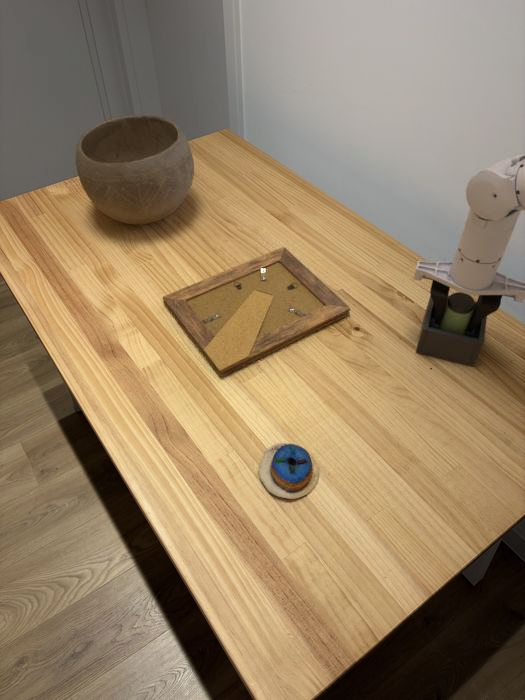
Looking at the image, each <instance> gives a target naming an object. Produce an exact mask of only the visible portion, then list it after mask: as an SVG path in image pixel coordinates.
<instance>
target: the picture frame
mask: <svg viewBox="0 0 525 700" xmlns="http://www.w3.org/2000/svg"><path fill="white" fill-rule="evenodd" d="M162 300H163V301H162V302H163V305H164V306H165V307H166V308H167V310H168V311H169V312H170V314H171V315H172V316H173V318H174V319H175V320H176V321H177V322H178V324H179V325H180V327H181V328H182V329H183V331H184V332H185V333H186V334H187V336H188V337H189V339H190V340H191V341H192V342H193V343H194V345H195V346H196V348H197V349H198V350H199V351H200V353H201V354H202V356H203V357H204V358H205V359H206V360H207V362H208V363H209V365H210V366H211V367H212V368H213V370H214V372H216V374H217V375H218V376H219V377H220V378H222V377H225V376H227V375H228V374H230V373H233V372H235V371H237V370H239V369H241V368H243V367H245V366H247V365H249V364H251V363H253V362H255V361H257V360H259V359H261V358H263V357H265V356H267V355H270V354H271V353H273V352H276V351H277V350H280V349H282V348H284V347H286V346H287V345H290V344H292V343H294V342H296V341H298V340H300V339H302V338H304V337H306V336H308V335H310V334H312V333H314V332H316V331H318V330H320V329H323V328H324V327H326V326H329V325H330V324H332V323H335V322H336V321H338V320H341V319H344V318H345V317H347V316H348V315H349V316H350V313H351V307H350V306H349V305H348V304H347V303H346V302H344V300H343V299H341V298H340V296H339V295H337V294H336V293H335V292H334V291H333V290H332V289H331V288H330V287H328V286H327V284H325V283H324V282H323V281H322V280H321V279H320V278H319V277H317V276H316V274H315V273H313V272H312V271H311V270H310V269H309V268H308V267H307V266H306V265H304V264H303V262H301V260H299V259H298V258H297V257H296V256H295V255H294V254H293V253H291V252H290V251H289V250H288V249H287V248H286V247H285V246H282V247H279V248H278V249H274V250H272V251H270V252H267V253H265V254H263V255H261V256H257V257H255V258H253V259H251V260H248V261H246V262H244V263H240V264H239V265H235V266H234V267H232V268H229V269H226V270H223V271H221V272H219V273H217V274H214V275H212V276H209V277H207V278H205V279H202V280H200V281H197V282H196V283H193V284H190V285H188V286H185V287H183V288H181V289H178V290H175V291H173V292H170V293H168V294H165V295H163V296H162Z"/></svg>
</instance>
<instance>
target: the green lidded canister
mask: <svg viewBox="0 0 525 700" xmlns="http://www.w3.org/2000/svg"><path fill="white" fill-rule="evenodd" d="M449 296H450V297H449V298H448V299H447V301H446V304H445V307H444V310H443V313H442V317H441V322H440V324H439V325H438V329H439V330H443V331H447V332H451V333H456V334H460V335H465V333H466V330H467V328H468V325H469V322H470V320H471V317H472V315H473V312H474V309H475V306H474V305H475V301H476V300H475V299H474V298H473V296H472V295H468V294H464V293H461V292H459V291H457V292H453V293H451V294H450V295H449Z"/></svg>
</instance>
